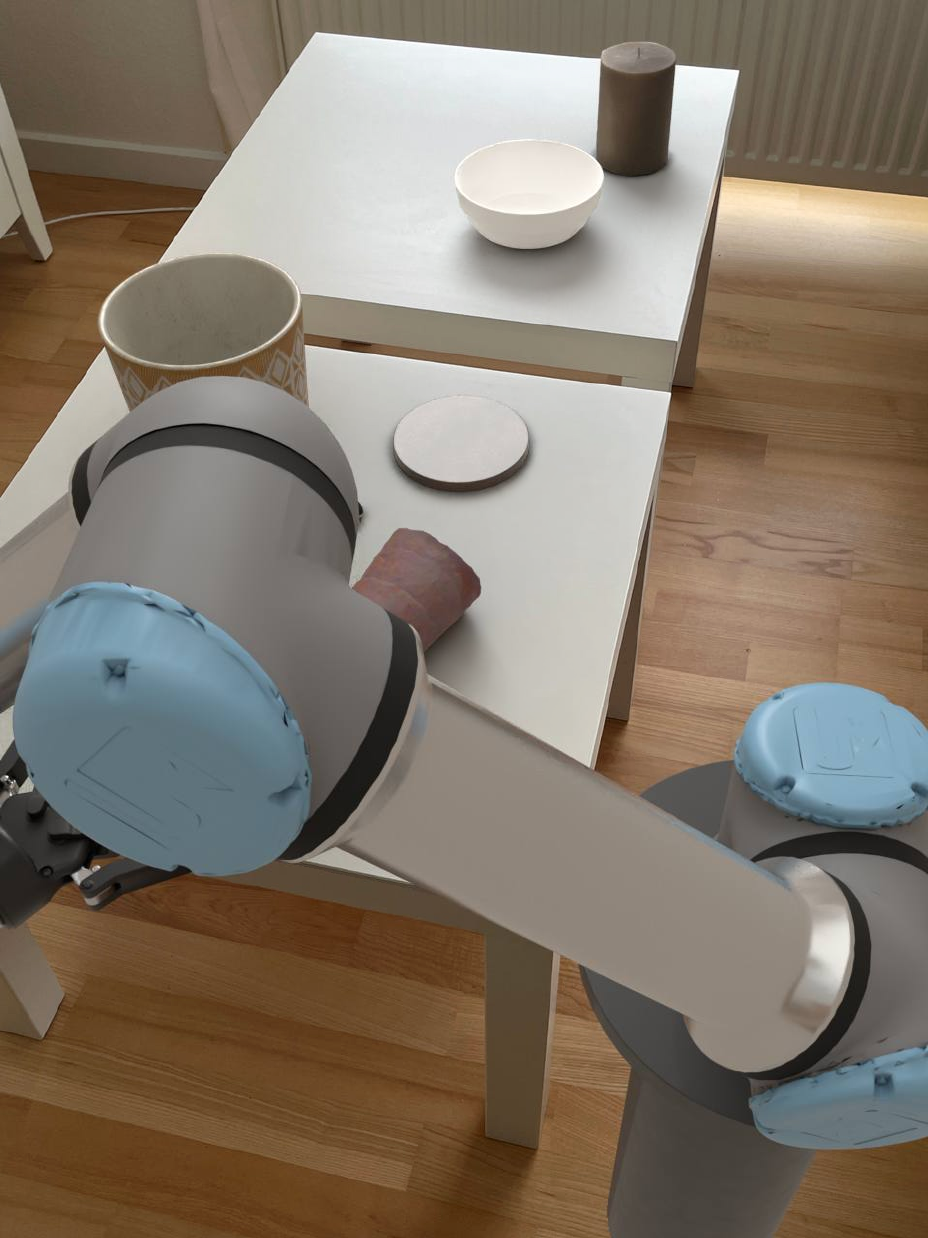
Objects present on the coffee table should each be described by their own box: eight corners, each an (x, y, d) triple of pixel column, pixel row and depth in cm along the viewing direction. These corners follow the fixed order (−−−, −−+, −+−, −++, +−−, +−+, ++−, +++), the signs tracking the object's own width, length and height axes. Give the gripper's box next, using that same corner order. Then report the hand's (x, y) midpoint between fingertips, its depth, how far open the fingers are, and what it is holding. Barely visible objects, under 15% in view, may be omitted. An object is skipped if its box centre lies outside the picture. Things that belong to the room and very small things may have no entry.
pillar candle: (659, 180, 164) (669, 66, 153) (587, 171, 166) (592, 58, 155) (674, 145, 170) (685, 33, 159) (604, 137, 172) (610, 26, 161)
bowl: (628, 244, 154) (632, 190, 148) (495, 283, 149) (494, 229, 144) (557, 179, 165) (559, 126, 160) (432, 213, 160) (429, 160, 155)
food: (397, 577, 117) (391, 507, 110) (485, 613, 113) (484, 543, 107) (262, 736, 104) (246, 667, 98) (356, 782, 101) (346, 714, 95)
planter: (181, 374, 139) (149, 241, 126) (345, 398, 135) (329, 263, 123) (104, 487, 126) (61, 352, 114) (283, 517, 123) (257, 380, 110)
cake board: (554, 431, 130) (554, 422, 129) (481, 509, 122) (481, 500, 122) (442, 389, 136) (442, 379, 135) (366, 461, 128) (366, 452, 127)
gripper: (-103, 818, 93) (127, 656, 103) (95, 1035, 81) (333, 829, 91) (-142, 759, 87) (106, 594, 98) (65, 983, 76) (322, 769, 86)
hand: (216, 707), depth 94 cm, fingers open, 13 cm apart
